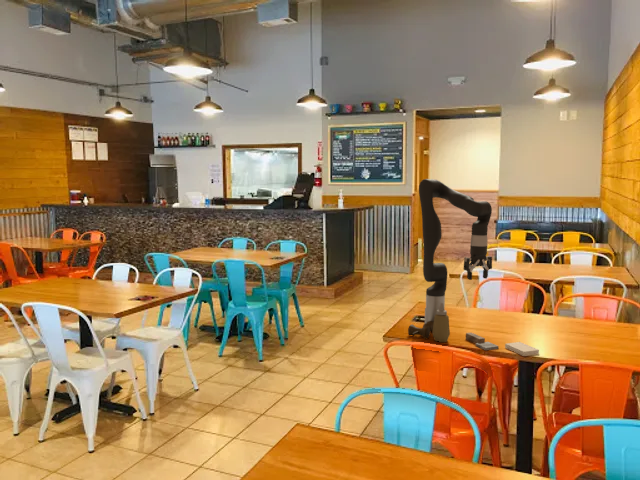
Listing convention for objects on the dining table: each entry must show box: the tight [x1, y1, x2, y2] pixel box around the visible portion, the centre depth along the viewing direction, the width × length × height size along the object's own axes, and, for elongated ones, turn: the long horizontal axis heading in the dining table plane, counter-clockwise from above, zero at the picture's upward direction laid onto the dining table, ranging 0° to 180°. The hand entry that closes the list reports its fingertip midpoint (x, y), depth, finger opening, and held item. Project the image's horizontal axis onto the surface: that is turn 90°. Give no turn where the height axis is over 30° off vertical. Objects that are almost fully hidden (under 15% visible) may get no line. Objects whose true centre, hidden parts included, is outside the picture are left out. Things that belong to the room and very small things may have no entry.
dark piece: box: [465, 332, 500, 351], centre depth 247 cm, size 17×7×3 cm, turn 21°
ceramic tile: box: [504, 341, 540, 357], centre depth 238 cm, size 2×8×12 cm
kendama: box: [407, 321, 434, 340], centre depth 261 cm, size 6×10×20 cm
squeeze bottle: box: [431, 303, 451, 343], centre depth 251 cm, size 8×8×18 cm
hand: (477, 278), depth 252 cm, fingers open, 8 cm apart
